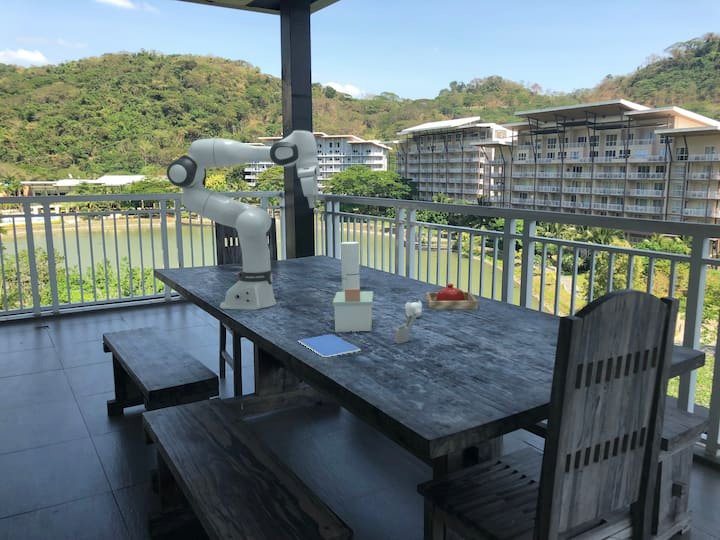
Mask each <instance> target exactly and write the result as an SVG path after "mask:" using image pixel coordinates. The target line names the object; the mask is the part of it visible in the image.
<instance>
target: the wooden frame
mask: <svg viewBox="0 0 720 540" xmlns="http://www.w3.org/2000/svg"><path fill="white" fill-rule="evenodd" d="M438 292H439V291H437V292H436V291H435V292H434V291H429V292H428V291H427V292H425V301H426V304H427V303H428V304H427V306H429V307H428V310H478V308H479V306H478V305H479V301H478V300H477V298H476V297H475V295H474V294H473V292H472V291H463V294H464V299H468V301H436V299H437V294H438Z"/></svg>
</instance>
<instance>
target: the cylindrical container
mask: <svg viewBox="0 0 720 540" xmlns="http://www.w3.org/2000/svg"><path fill="white" fill-rule="evenodd" d="M340 254H341V255H340V256H341V258H340V259H341V260H340V261H341V262H340V264H341V292H345V289H359V288H360V289H361V287H360V283H361V282H360V279H361V278H360V245H359V242H358V241H344V242H343V241H342V242H340Z"/></svg>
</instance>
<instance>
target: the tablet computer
mask: <svg viewBox="0 0 720 540" xmlns="http://www.w3.org/2000/svg"><path fill="white" fill-rule="evenodd" d="M298 342H299V343H298ZM297 343H298V344H300V343H301V344H300V345H302V346H303V345H304V346H303V347H305V346H306V347H305V348H306V349H308V348H309V350H310V349H311V350H312V351H311V350H310V351H311V352H313V351H314V352H315V354H316V353H317V354H319V355H321V356H322V357H330V358H332V357H331V356H336V357H338V356H337V355H341V356H343V355H342V354H346V355H348V354H347V353H351V354H354V353H353V352H356V353H359V352H358V351H360V352H361V351H362V349H361V348H359V347H357V346H355V345H354V344H352V343H349V342H348V341H346V340H344V339H342V338H340V337H338V336H337V335H335V334H332V333H329V334H323V335H319V336H313V337H308V338H303V339H302V338H301V339H299V340H297ZM314 352H313V353H314ZM317 354H316V355H317ZM319 355H318V356H319ZM322 357H321V358H322Z"/></svg>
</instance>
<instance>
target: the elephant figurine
mask: <svg viewBox="0 0 720 540" xmlns="http://www.w3.org/2000/svg"><path fill="white" fill-rule="evenodd" d="M404 308H405V313H406V316H407V317H408V318H409V315H413V316H415V317H416V318H418V317H419V316H421V314H422V313H423V312H422V309H423V303H422V302H421V301H420V300H418V301H415V302H410V301H409V302H408V301H407V302H406V303H405V305H404Z"/></svg>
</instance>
